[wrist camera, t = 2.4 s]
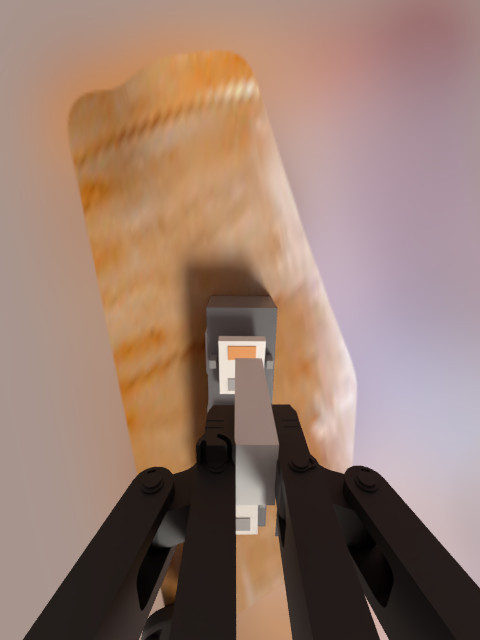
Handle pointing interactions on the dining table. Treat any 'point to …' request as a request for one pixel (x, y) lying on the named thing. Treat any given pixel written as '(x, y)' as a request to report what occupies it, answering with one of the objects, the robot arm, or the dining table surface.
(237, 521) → the rocker back
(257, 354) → the rocker front
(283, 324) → the dining table surface
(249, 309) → the power strip
